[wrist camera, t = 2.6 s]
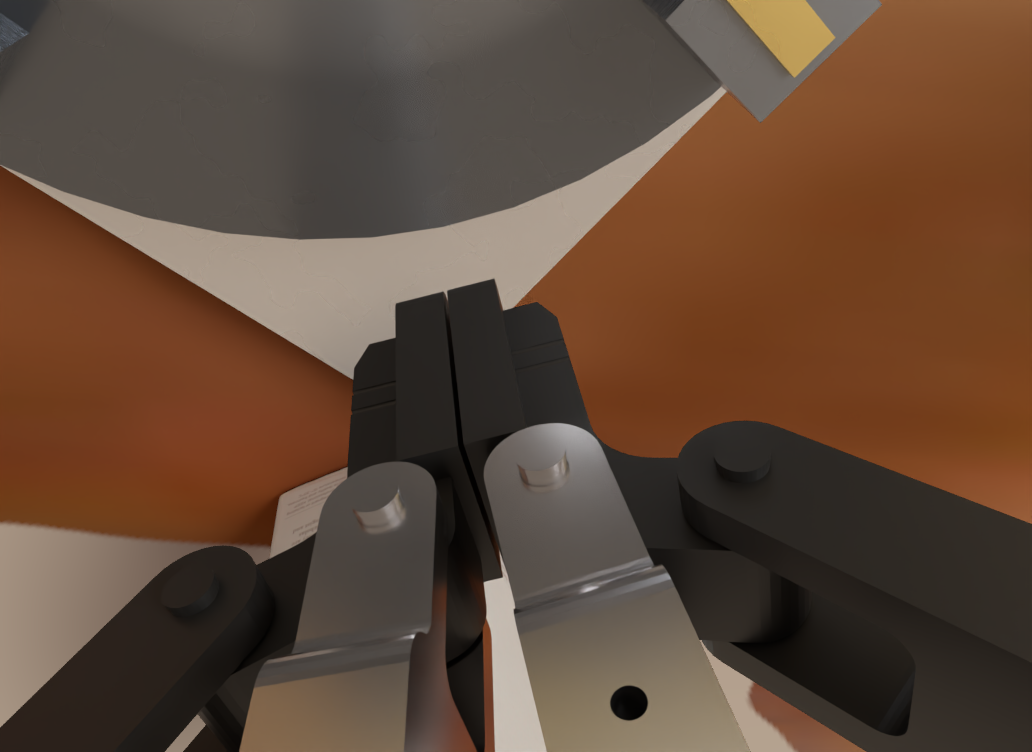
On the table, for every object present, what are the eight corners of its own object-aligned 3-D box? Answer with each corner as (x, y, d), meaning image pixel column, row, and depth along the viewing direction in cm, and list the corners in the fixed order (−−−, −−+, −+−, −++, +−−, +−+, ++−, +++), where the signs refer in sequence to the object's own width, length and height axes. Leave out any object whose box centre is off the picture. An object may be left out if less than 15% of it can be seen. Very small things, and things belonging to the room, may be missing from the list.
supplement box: (273, 490, 30) (205, 851, 20) (458, 418, 29) (487, 758, 19) (368, 606, 34) (353, 952, 24) (533, 546, 33) (590, 881, 23)
